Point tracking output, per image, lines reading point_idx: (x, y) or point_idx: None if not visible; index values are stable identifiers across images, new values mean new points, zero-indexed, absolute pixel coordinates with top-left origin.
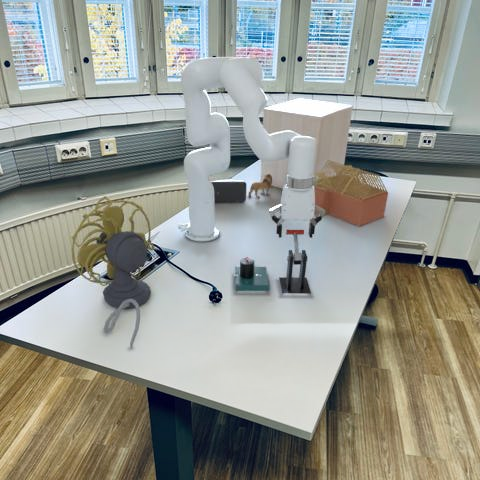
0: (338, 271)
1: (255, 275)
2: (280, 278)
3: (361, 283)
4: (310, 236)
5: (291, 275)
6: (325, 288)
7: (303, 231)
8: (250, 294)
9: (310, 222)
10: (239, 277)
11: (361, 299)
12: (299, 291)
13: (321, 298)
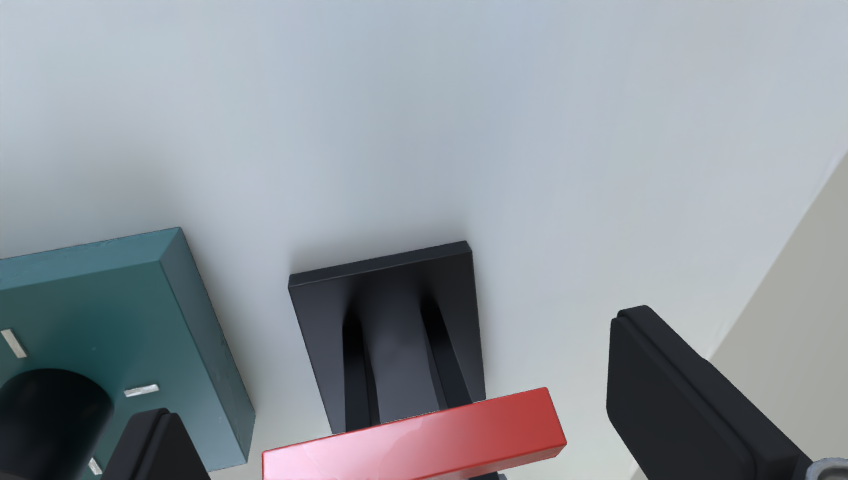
0: (697, 73)
1: (121, 390)
2: (300, 297)
3: (775, 204)
4: (621, 427)
5: None
6: (566, 296)
7: (551, 457)
8: None
9: (765, 472)
10: None
11: (711, 349)
12: (425, 398)
13: (530, 384)
